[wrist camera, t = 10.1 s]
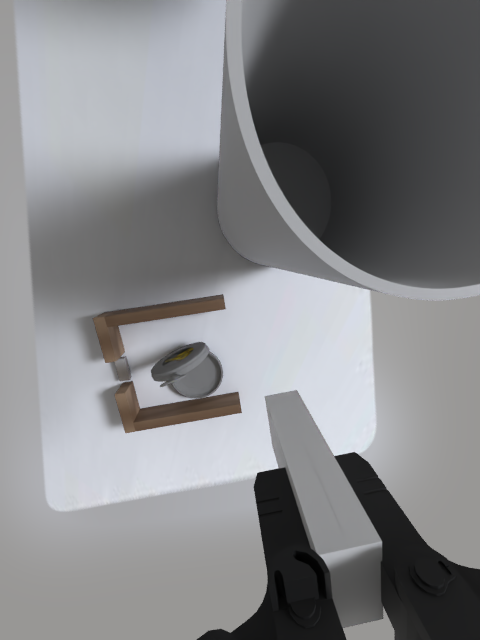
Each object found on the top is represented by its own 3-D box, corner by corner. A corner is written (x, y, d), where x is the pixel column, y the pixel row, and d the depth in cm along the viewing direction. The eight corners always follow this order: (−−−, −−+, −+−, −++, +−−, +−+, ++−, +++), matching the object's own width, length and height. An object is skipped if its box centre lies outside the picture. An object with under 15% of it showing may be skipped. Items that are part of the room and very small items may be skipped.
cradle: (103, 312, 32) (92, 318, 29) (223, 294, 32) (223, 298, 30) (132, 418, 35) (125, 433, 32) (239, 399, 36) (241, 412, 33)
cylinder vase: (199, 173, 29) (122, -218, 5) (306, 129, 29) (757, -483, 5) (241, 281, 32) (319, 362, 8) (337, 241, 32) (705, 206, 8)
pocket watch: (205, 402, 36) (201, 458, 26) (148, 372, 34) (121, 420, 24) (238, 353, 35) (248, 391, 25) (181, 319, 33) (167, 347, 23)
